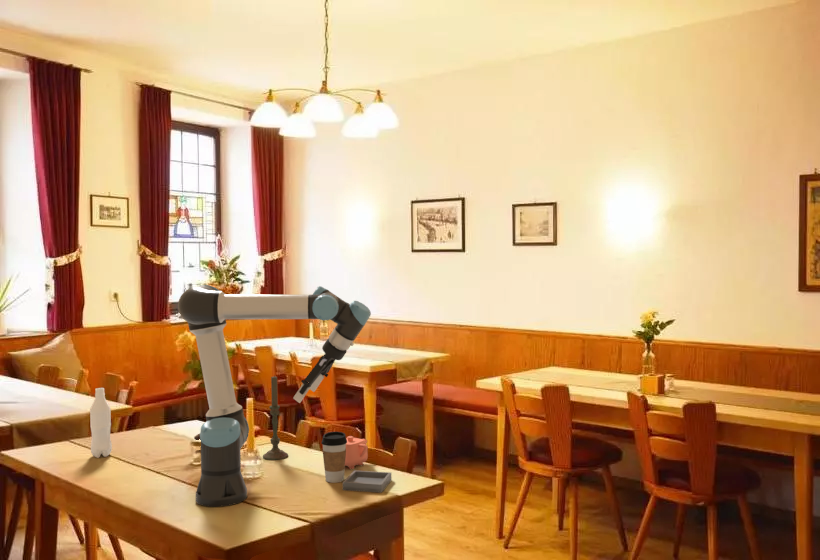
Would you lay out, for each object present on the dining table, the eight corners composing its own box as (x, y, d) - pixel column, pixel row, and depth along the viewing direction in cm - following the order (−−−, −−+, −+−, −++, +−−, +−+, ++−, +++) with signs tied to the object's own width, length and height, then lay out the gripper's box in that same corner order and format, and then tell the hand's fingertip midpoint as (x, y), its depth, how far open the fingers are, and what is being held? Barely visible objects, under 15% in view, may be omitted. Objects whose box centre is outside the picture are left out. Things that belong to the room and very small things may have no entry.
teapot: (334, 460, 263) (333, 432, 262) (367, 459, 264) (367, 431, 263) (333, 472, 249) (332, 442, 248) (368, 471, 249) (367, 441, 249)
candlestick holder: (276, 461, 261) (275, 377, 260) (257, 458, 266) (256, 375, 265) (293, 455, 269) (292, 374, 268) (274, 452, 274) (273, 372, 273)
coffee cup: (349, 476, 244) (349, 431, 243) (345, 484, 235) (344, 437, 235) (324, 475, 244) (324, 431, 244) (319, 483, 236) (318, 437, 235)
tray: (381, 492, 227) (381, 484, 227) (342, 490, 229) (342, 482, 229) (391, 480, 239) (391, 472, 239) (354, 477, 242) (354, 470, 242)
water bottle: (88, 455, 271) (86, 388, 270) (107, 452, 276) (106, 386, 275) (94, 459, 266) (93, 391, 265) (114, 455, 271) (113, 388, 270)
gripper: (335, 359, 226) (299, 412, 231) (357, 343, 251) (325, 391, 255) (315, 345, 227) (280, 398, 232) (340, 330, 251) (308, 378, 256)
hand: (304, 394), depth 243 cm, fingers open, 13 cm apart
